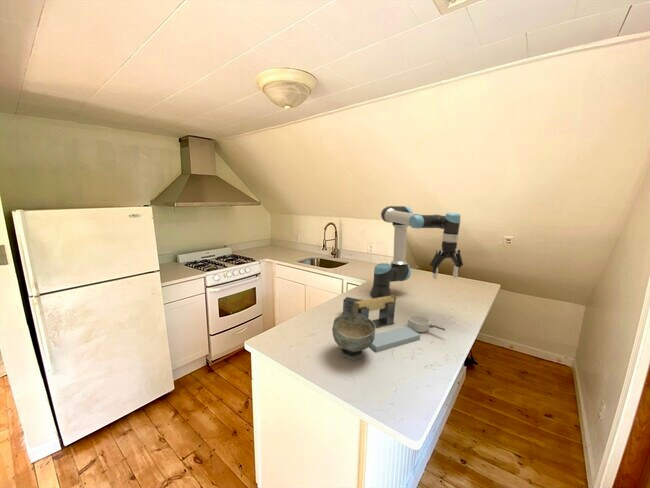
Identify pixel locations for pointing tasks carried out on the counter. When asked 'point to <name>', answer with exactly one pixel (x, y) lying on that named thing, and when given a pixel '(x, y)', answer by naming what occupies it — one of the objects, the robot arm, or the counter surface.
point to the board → (394, 338)
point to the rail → (373, 303)
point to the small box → (349, 305)
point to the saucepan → (420, 323)
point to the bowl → (353, 334)
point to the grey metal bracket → (381, 315)
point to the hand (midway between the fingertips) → (444, 278)
